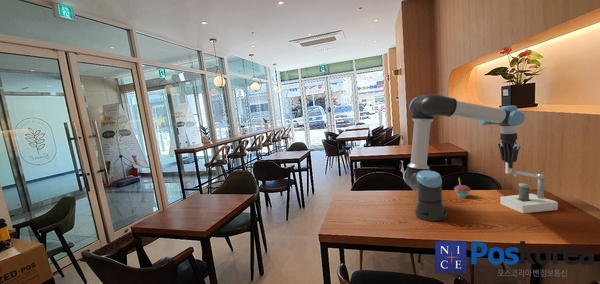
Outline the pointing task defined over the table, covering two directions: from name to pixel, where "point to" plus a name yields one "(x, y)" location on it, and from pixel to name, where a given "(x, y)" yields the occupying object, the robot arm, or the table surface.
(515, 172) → the clip
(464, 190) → the cupcake
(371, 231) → the table surface
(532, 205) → the socket block
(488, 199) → the table surface
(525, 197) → the plug
